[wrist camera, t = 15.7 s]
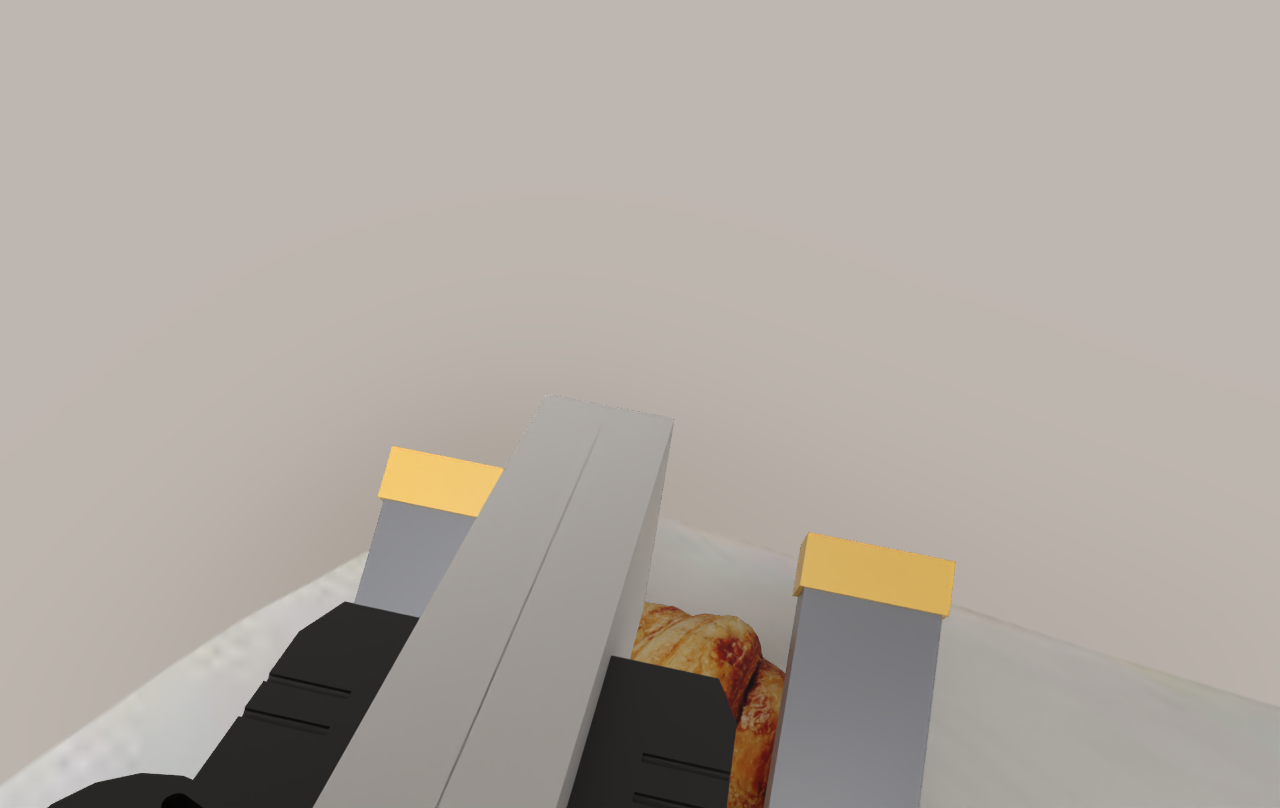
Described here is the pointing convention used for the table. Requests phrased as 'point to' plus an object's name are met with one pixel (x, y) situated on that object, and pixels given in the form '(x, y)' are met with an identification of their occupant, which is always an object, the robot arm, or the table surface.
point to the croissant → (743, 676)
